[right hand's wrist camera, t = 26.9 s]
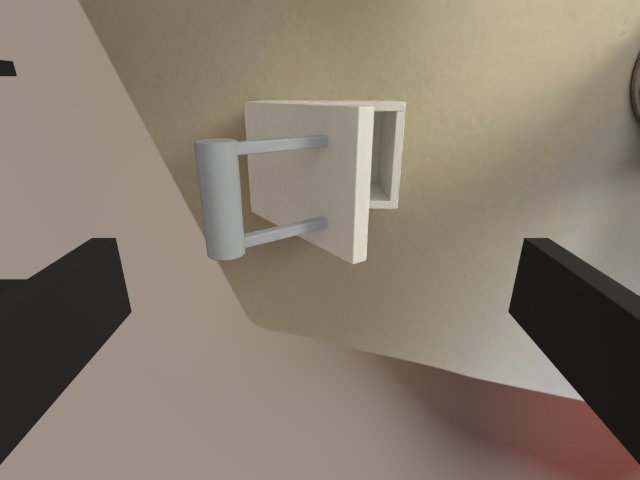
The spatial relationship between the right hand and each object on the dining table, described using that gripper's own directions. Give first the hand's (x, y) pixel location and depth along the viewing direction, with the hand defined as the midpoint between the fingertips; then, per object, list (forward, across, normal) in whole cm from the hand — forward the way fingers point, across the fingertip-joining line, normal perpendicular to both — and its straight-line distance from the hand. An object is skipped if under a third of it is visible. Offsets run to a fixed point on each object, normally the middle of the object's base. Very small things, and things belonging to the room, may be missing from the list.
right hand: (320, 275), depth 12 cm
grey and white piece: (+18, -1, 0) cm, 18 cm away
